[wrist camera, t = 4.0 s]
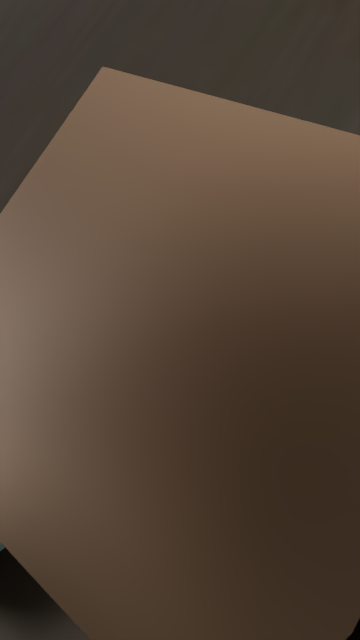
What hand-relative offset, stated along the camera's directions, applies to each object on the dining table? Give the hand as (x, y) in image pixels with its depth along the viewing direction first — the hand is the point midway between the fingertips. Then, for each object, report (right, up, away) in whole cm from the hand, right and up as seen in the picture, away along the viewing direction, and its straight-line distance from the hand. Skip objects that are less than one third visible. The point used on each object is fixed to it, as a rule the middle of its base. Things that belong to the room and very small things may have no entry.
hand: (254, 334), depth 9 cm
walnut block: (+1, -3, +6) cm, 7 cm away
